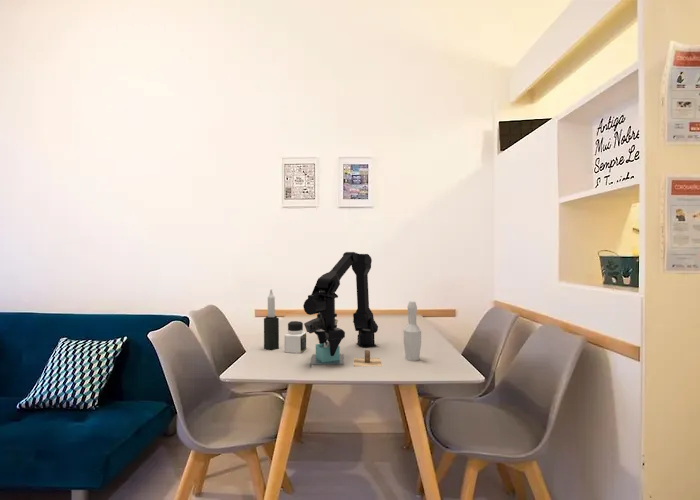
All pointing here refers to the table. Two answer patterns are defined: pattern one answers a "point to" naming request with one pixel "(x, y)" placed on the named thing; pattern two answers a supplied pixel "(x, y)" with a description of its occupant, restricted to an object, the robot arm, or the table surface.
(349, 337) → the table surface
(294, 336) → the medicine bottle
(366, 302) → the robot arm
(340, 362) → the silver peg base
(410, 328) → the grey bottle
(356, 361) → the stand
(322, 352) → the collar
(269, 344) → the black and white bottle
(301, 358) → the table surface
